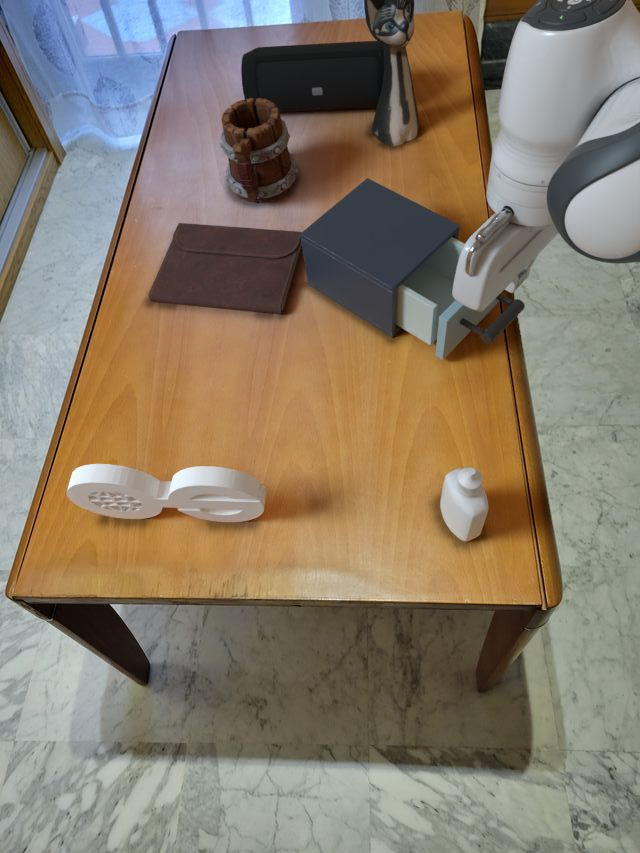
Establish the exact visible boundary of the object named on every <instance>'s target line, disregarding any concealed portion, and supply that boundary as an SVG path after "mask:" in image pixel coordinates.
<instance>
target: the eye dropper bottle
mask: <svg viewBox="0 0 640 853" xmlns="http://www.w3.org/2000/svg"><path fill="white" fill-rule="evenodd" d="M483 480H484V478H483V475H482V472H481V471H479V470H478V469H477V468H475V467H472V466H471V467H470V466H469V467H464V468H462V467H458V468H455V469H452V470H451V471H449V472H448V473H447V474H445V476H444V480H443V485H442V491H441V496H440V502H439V506H440V512H441V516H442V518H443V521H444V522H445V524H446V526H447V528H448V530H450V531H451V533H453V535H454V536H455V537H457V538H458V539H459V540H461V541H462V542H470V541H471V540H472V541H473V539H476V538H478V537H479V536H480V535H481V534H482V531H483V529H484V525H485V522H486V519H487V516H488V512H489V507H490V506H489V501H488V497H487V493H486V491H485V489H484V486H483Z"/></svg>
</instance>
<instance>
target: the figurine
mask: <svg viewBox="0 0 640 853" xmlns="http://www.w3.org/2000/svg"><path fill="white" fill-rule="evenodd" d="M363 4H364V6H363V7H364V16H365V17H364V18H365V22H366V26H367V28H368V30H369V33H370V34H371V37H373V39H374V40H375V41H378V42H380V43H381V44H383V45H384V58H385V60H384V78H383V84H382V90H381V94H380V98H379V102H378V106H377V107H376V110H375V113H374V117H373V122H372V126H371V134H372V136H374V137H375V138H376V139H377V140H378V141H379V142H381V143H382V144H384V145H386V146H390V147H398V146H401V145H403V144H404V143H405V142H411V141H413V140H415V139H416V137H417V136H418V132H419V129H420V128H419V127H420V126H419V124H420V121H419V120H420V118H419V112H418V106H417V102H416V101H417V100H416V96H415V91H414V90H415V89H414V85H413V84H414V83H413V77H412V72H411V71H412V70H411V67H410V62H409V57H408V52H407V46H408V45H409V43H410V41H411V39H412V37H413V36H414V33H415V19H414V18H415V17H414V16H415V0H363Z"/></svg>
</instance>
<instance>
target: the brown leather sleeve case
mask: <svg viewBox="0 0 640 853" xmlns="http://www.w3.org/2000/svg"><path fill="white" fill-rule="evenodd" d="M302 232H303V231H297V230H295V231H294V230H283V229H268V228H253V227H243V226H242V227H240V226H239V227H238V226H226V225H214V224H197V223H187V222H186V223H184V222H178V223H177V226H176V228H175V230H174V232H173V235H172V240H171V242H170V244H169V246H168V249H167V251H166V254H165V255H164V258H163V260H162V262H161V265H160V267H159V269H158V272H157V274H156V277H155V279H154V281H153V283H152V286H151V287H150V290H149V293H148V299H149V301H150V302H153V303H164V304H171V305H172V304H173V305H182V306H183V305H184V306H194V307H204V308H213V309H222V310H223V309H224V310H236V311H243V312H244V311H245V312H253V313H254V312H255V313H266V314H276V315H283V314H284V311H285V307H286V304H287V300H288V297H289V293H290V291H291V287H292V284H293V280H294V277H295V273H296V270H297V267H298V265H299V264H298V262H299V260H300V257H301V253H302V251H303V248H302V242H301V236H300V233H302Z"/></svg>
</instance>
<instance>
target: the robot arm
mask: <svg viewBox="0 0 640 853" xmlns="http://www.w3.org/2000/svg"><path fill="white" fill-rule="evenodd" d="M497 110H498V111H497V112H498V114H497V115H498V120H499V131H498V133H497V136H496V138H495V139H494V140H495V141H494V142H493V146H492V150H491V157H490V158H491V159H490V164H489V171H488V178H487V185H486V186H487V187H486V192H485V194H486V195H485V196H486V201H487V203H488V205H489V207H490V209H491V211H493V212H494V213H493V214H492V215H490V216H489V218H488V219H487V220H486V221H485V222H484V223H483V224H481V226H480V227H479V228H477V230H475V231H474V232H473V233H472V234H471V235H470V237H469V238H468V239H467V240H466V242H464V244H465V245H464V247H463V249H462V251H461V254H460V257H459V260H458V264H457V268H456V273H455V278H454V283H453V289H452V295H453V297H454V299H456V300H457V301H458V302H460V303H461V304H463V305H464V306H466V307H468V308H470V309H472V310H475V311H478V312H482V311H483V310H485V309H486V308H487V307H488V306H489V305H490V304H491V303H492V301H493V300H494V299H495V298H496V297H497V296H498V295H499V294H500V293H501V294H502V292H504V291H506V292H508V293H510V294H512V293H514V292H516V290H517V289H518V288H519V287H520V286H521V285H522V284H523V283H524V282H525V281H526V280H527V279H528V278H529V276H530V272H531V268H532V267H533V265H534V264H535V261H536V260H537V258H538V256H539V254H540V253H541V252H542V251H543V250H544V249H545V248H546V247H547V246H548V245H549V244H550V243H551V242H552V241H553V240H554V239H555V238H556V237H557V236H558V235H559V236H560V237H561V238H562V240H563V241H564V242H565V243H566V244H567V245H568V246H569V247H570V248H571V249H572V250H574V251H575V252H576V253H578V254H579V255H581V256H583V257H585V258H588V259H590V260H592V261H593V260H594V261H596V262H601V263H606V264H633V263H639V262H640V11H639V10H638V8H637V7H636V6H635V4H634V2H633V0H537V1H535V3H533V5H532V6H531V7H530V8H529V9H528V10H527V11H526V12H525V13H524V14H523V16H522V17H521V19H520V20H519V22H518V23H517V25H516V28H515V31H514V33H513V36H512V39H511V43H510V45H509V50H508V54H507V58H506V62H505V67H504V72H503V76H502V82H501V88H500V94H499V99H498V108H497Z"/></svg>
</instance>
